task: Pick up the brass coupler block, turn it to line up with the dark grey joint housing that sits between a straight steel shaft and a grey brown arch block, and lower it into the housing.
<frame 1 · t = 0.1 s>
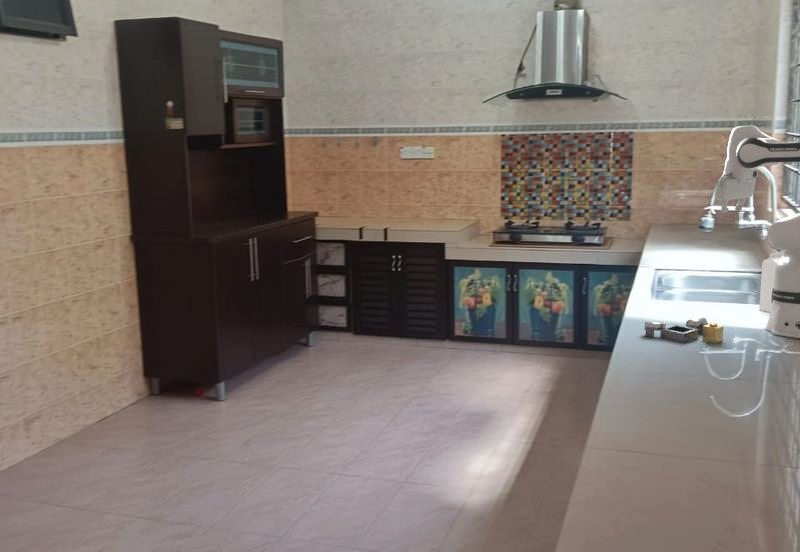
hand: (731, 211, 285), 39 cm above the worktop, tool pointing down, fingers open, 8 cm apart
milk: (771, 311, 303), on the worktop
housing: (679, 337, 267), on the worktop
coupler: (712, 340, 263), on the worktop
grey brown arch block: (655, 335, 269), on the worktop
shaft straight: (696, 332, 273), on the worktop
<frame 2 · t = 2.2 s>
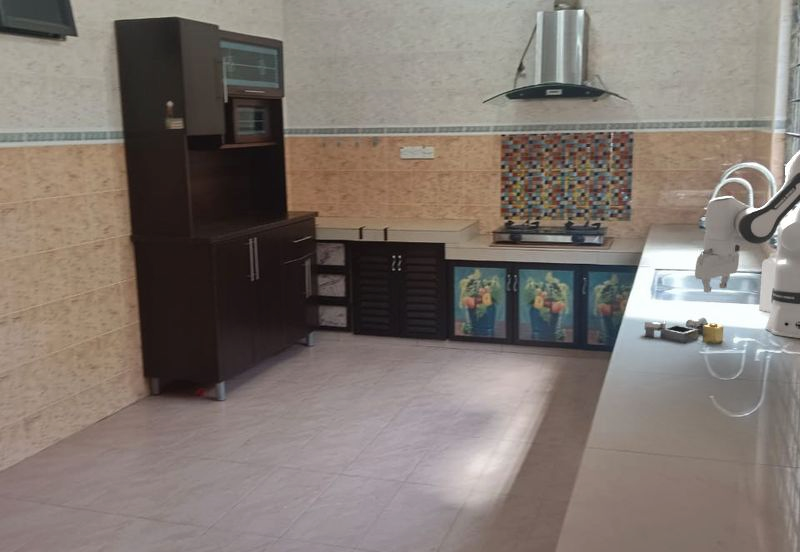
hand: (715, 290, 260), 17 cm above the worktop, tool pointing down, fingers open, 8 cm apart
nothing on the worktop moved.
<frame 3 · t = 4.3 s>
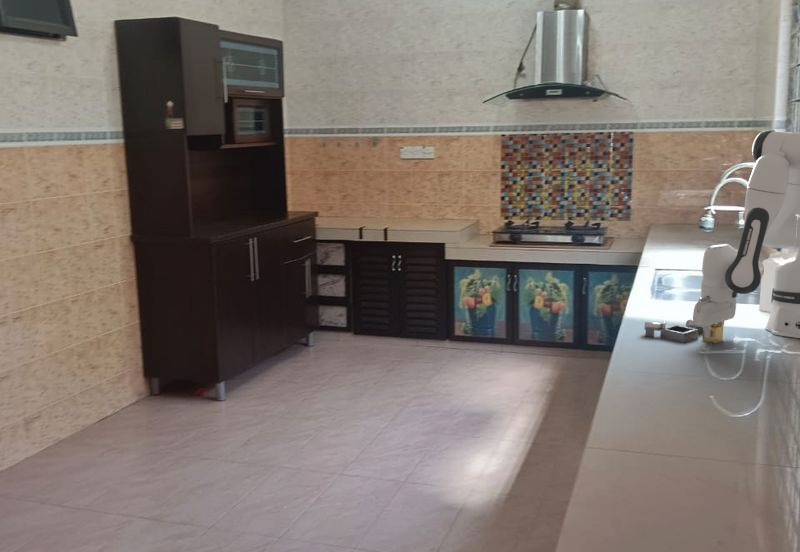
hand: (712, 335, 263), 2 cm above the worktop, tool pointing down, fingers closed on coupler, 4 cm apart
coupler: (712, 340, 263), on the worktop, touching gripper
everything else where it was.
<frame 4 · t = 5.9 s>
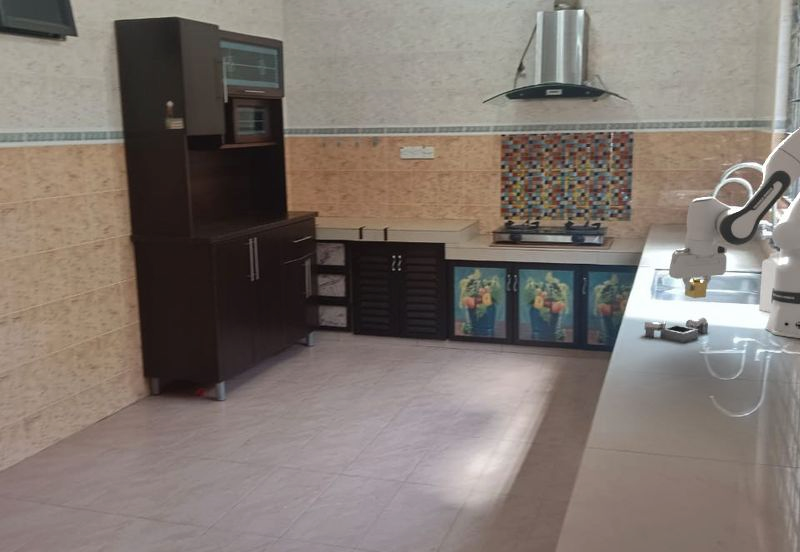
hand: (695, 290, 261), 17 cm above the worktop, tool pointing down, fingers closed on coupler, 4 cm apart
coupler: (695, 296, 261), point 15 cm above the worktop, touching gripper
everything else where it was.
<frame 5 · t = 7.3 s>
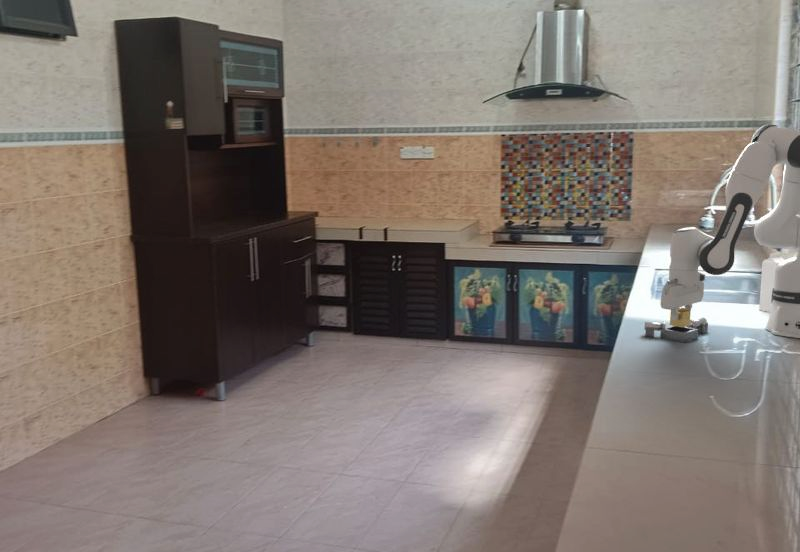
hand: (680, 318, 265), 7 cm above the worktop, tool pointing down, fingers closed on coupler, 4 cm apart
coupler: (679, 325, 265), point 5 cm above the worktop, touching gripper
everything else where it was.
when the fingers open (4 cm above the worktop, at t = 8.0 s): coupler stays where it is, resting on housing.
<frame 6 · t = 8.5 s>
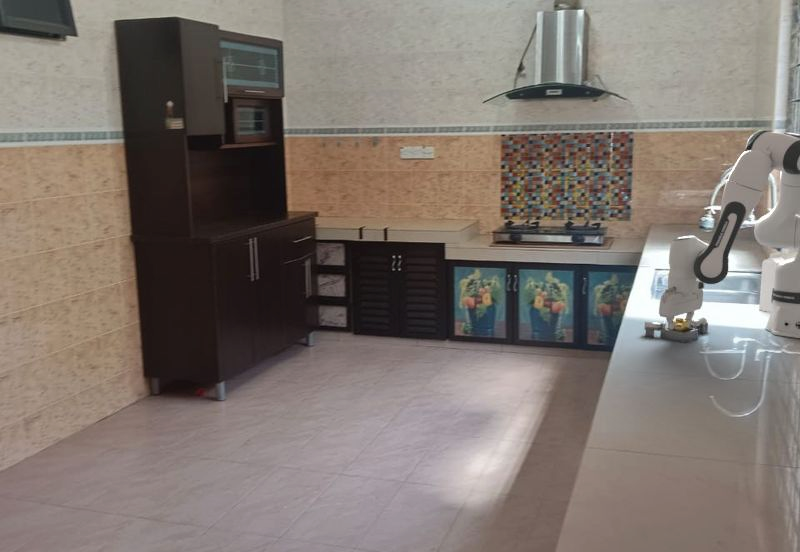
hand: (679, 326, 266), 4 cm above the worktop, tool pointing down, fingers open, 8 cm apart
coupler: (678, 335, 267), point 1 cm above the worktop, touching housing
everything else where it was.
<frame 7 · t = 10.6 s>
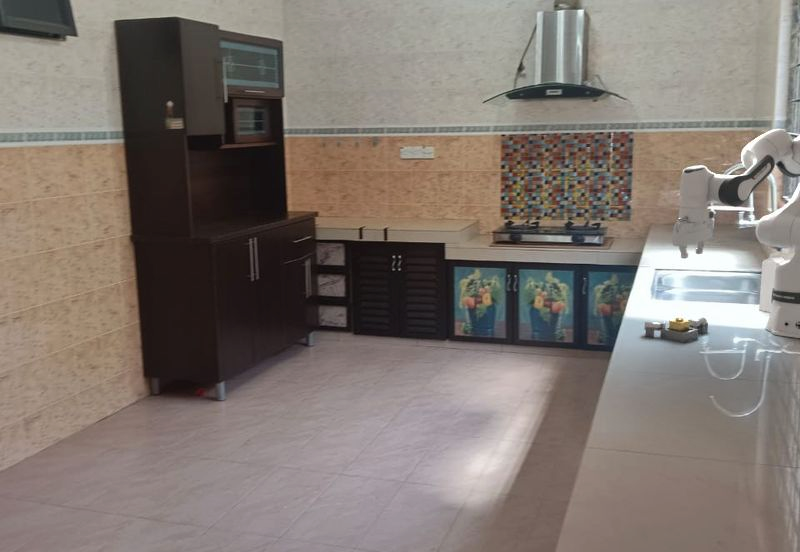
hand: (691, 255, 272), 26 cm above the worktop, tool pointing down, fingers open, 8 cm apart
nothing on the worktop moved.
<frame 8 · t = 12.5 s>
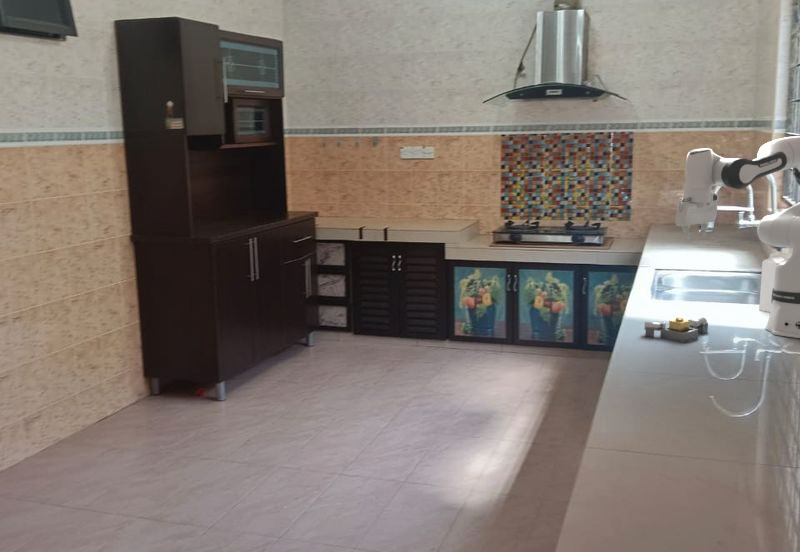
hand: (694, 237, 277), 31 cm above the worktop, tool pointing down, fingers open, 8 cm apart
nothing on the worktop moved.
at the end: coupler 0.2 cm off-centre on the housing, point 0.8 cm above the housing's base; coupler tilted 0°; the gripper is holding nothing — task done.
